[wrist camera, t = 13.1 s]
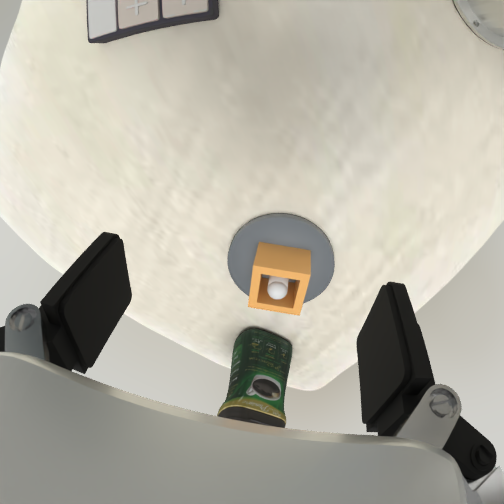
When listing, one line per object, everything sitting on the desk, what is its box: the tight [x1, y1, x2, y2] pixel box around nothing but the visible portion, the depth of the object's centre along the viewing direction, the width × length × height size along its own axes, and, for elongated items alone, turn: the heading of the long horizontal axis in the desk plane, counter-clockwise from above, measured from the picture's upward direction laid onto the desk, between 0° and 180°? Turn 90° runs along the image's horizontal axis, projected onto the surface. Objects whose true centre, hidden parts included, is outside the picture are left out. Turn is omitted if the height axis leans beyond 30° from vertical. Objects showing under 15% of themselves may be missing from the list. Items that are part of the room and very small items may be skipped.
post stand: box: [228, 213, 334, 303], centre depth 39 cm, size 14×14×7 cm
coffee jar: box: [217, 329, 292, 428], centre depth 44 cm, size 10×8×19 cm
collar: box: [248, 242, 311, 315], centre depth 39 cm, size 6×6×5 cm
